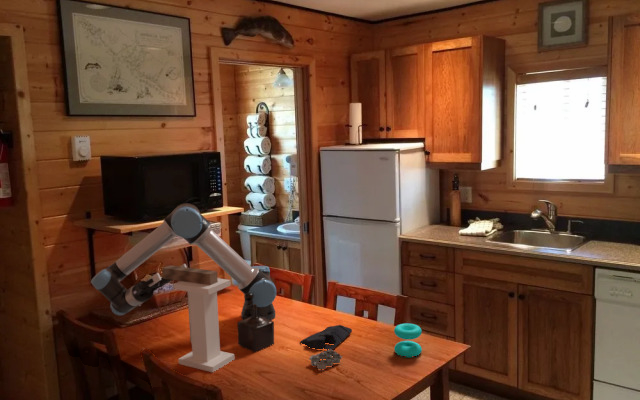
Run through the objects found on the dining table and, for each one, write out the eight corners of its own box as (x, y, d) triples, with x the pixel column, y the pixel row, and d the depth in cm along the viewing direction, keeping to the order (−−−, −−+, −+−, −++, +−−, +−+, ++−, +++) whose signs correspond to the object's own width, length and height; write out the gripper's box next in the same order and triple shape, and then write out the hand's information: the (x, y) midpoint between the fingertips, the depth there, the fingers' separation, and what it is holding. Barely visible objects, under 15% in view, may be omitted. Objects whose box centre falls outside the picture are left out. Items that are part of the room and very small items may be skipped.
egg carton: (320, 372, 188) (319, 361, 188) (307, 365, 194) (307, 354, 194) (344, 364, 195) (343, 353, 194) (331, 357, 201) (331, 346, 200)
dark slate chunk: (358, 335, 221) (358, 324, 221) (328, 354, 203) (328, 342, 203) (327, 328, 230) (326, 317, 229) (295, 346, 212) (295, 334, 211)
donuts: (410, 320, 207) (427, 328, 198) (410, 345, 208) (427, 354, 200) (388, 325, 202) (404, 334, 194) (389, 351, 204) (405, 361, 195)
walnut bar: (163, 278, 201) (162, 268, 200) (170, 275, 204) (170, 265, 204) (210, 285, 191) (209, 274, 190) (217, 282, 194) (217, 271, 194)
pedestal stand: (178, 363, 198) (173, 283, 194) (201, 351, 208) (196, 275, 204) (213, 372, 190) (208, 289, 186) (234, 359, 201) (230, 280, 196)
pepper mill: (276, 343, 214) (276, 299, 211) (254, 352, 206) (254, 307, 203) (250, 332, 224) (249, 290, 221) (228, 340, 216) (228, 297, 213)
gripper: (167, 292, 222) (200, 272, 211) (117, 312, 200) (151, 290, 190) (159, 276, 223) (192, 254, 212) (109, 293, 201) (142, 270, 191)
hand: (173, 271), depth 201 cm, fingers open, 13 cm apart
